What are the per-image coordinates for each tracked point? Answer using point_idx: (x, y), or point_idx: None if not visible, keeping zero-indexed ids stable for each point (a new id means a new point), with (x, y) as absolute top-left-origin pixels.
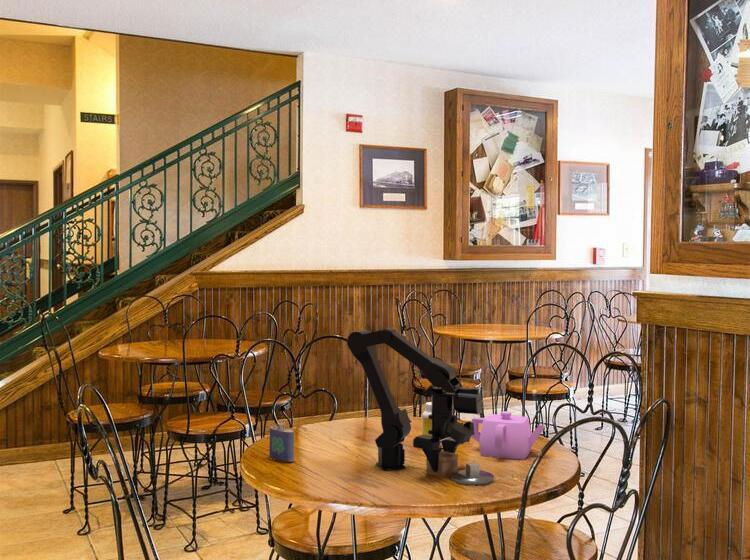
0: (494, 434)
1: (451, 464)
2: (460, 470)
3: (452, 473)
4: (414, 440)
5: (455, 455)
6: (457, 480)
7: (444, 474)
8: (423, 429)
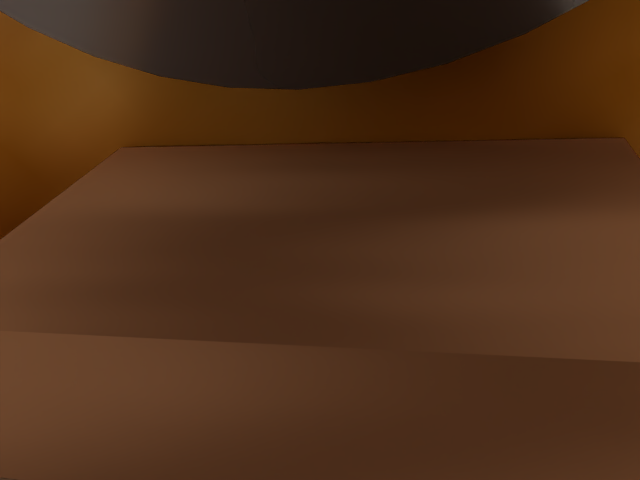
0: None
1: (301, 263)
2: (120, 39)
3: (496, 30)
4: None
5: None
6: None
7: (638, 179)
8: None
